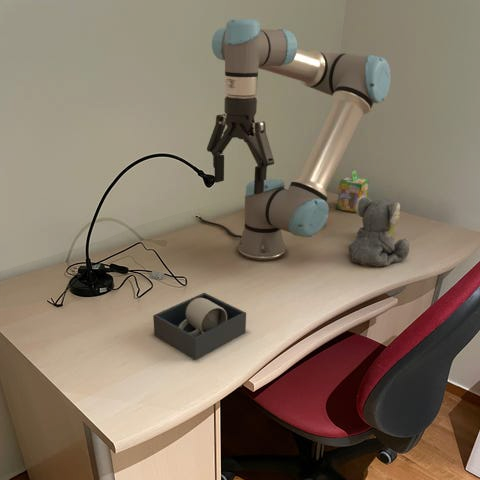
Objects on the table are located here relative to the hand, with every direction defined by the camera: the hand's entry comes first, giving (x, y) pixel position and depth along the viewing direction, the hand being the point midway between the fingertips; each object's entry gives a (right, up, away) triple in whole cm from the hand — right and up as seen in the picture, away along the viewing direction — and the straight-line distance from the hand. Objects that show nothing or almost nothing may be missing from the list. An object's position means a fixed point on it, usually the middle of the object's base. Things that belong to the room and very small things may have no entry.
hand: (238, 187), depth 130 cm
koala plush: (+43, -14, +36) cm, 57 cm away
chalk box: (+45, +11, +78) cm, 91 cm away
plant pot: (+50, -5, +51) cm, 72 cm away
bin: (-9, -37, -6) cm, 39 cm away
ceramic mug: (-9, -36, -6) cm, 38 cm away
